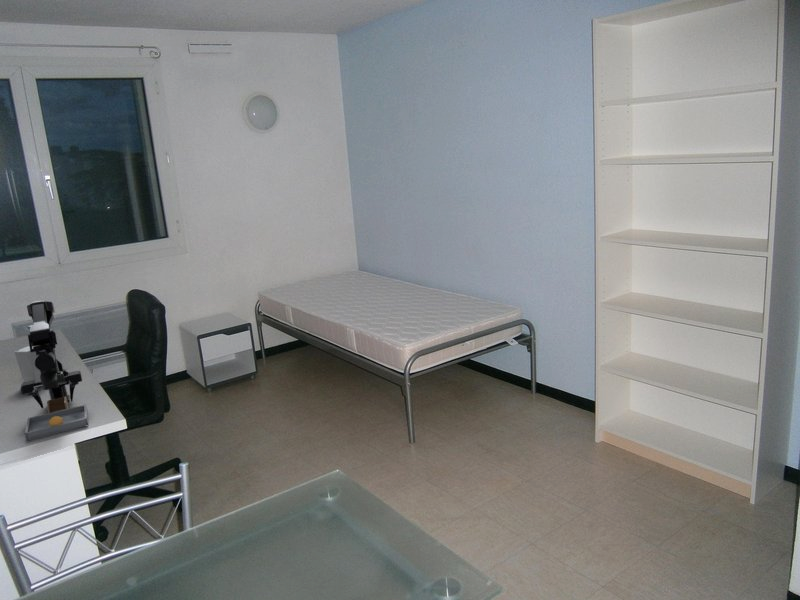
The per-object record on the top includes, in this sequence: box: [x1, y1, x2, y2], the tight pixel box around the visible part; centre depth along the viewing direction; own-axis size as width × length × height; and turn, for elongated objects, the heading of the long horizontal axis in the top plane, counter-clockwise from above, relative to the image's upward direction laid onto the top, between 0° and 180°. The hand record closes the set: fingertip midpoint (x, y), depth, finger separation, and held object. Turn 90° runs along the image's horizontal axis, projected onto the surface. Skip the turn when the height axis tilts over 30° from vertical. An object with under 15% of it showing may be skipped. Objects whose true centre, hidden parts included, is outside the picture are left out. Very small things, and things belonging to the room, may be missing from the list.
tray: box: [24, 404, 89, 441], centre depth 208 cm, size 15×18×2 cm
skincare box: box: [13, 345, 41, 383], centre depth 251 cm, size 8×7×16 cm
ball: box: [49, 416, 63, 427], centre depth 203 cm, size 4×4×4 cm
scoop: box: [46, 397, 70, 414], centre depth 218 cm, size 7×6×4 cm
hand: (57, 404), depth 218 cm, fingers open, 9 cm apart
